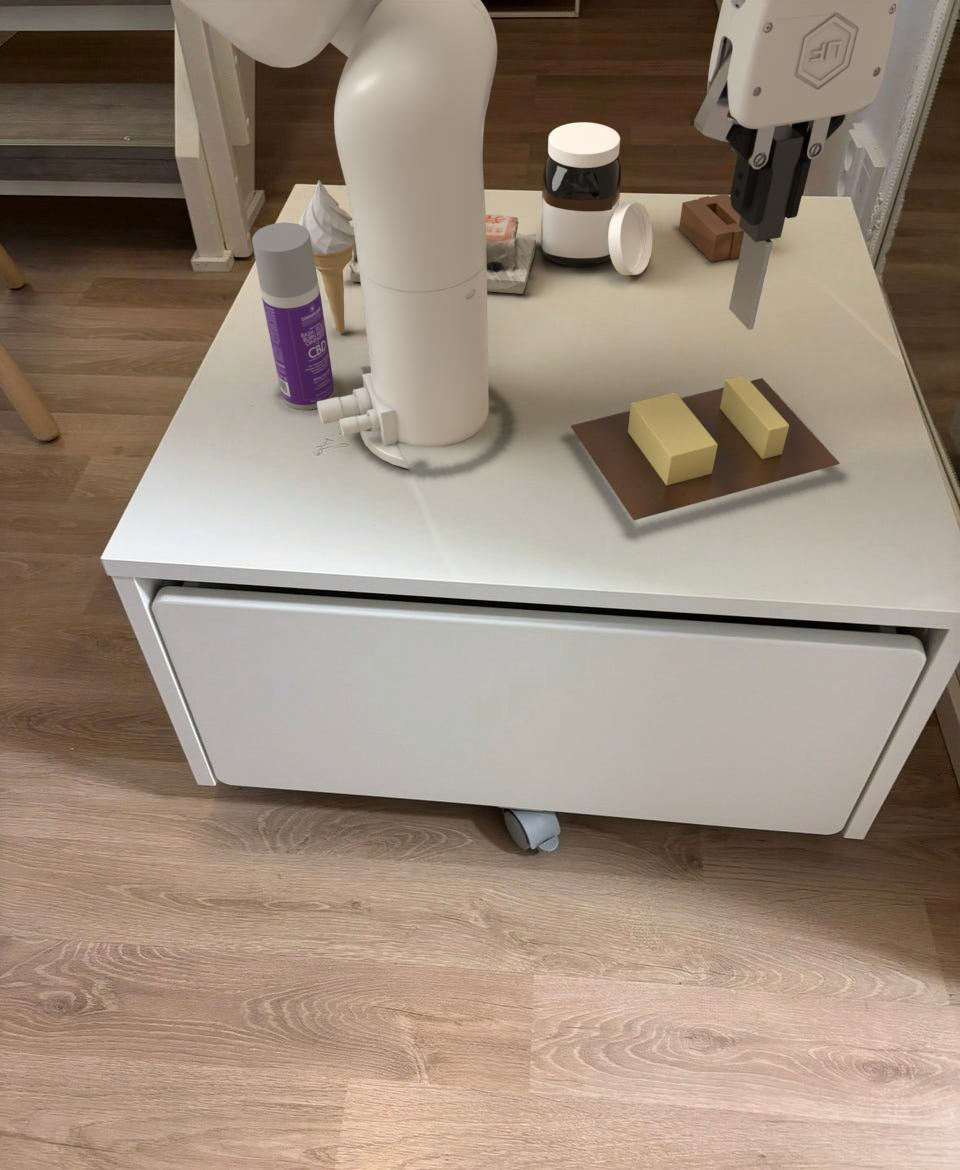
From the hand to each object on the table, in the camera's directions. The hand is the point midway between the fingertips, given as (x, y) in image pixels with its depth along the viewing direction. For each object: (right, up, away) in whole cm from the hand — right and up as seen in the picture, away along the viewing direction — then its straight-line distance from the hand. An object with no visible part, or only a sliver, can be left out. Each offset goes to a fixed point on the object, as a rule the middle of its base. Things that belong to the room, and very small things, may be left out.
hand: (763, 210), depth 70 cm
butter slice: (+3, -13, +13) cm, 19 cm away
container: (-35, -9, +20) cm, 41 cm away
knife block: (+5, +10, +37) cm, 38 cm away
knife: (0, -6, +6) cm, 9 cm away
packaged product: (-23, +7, +34) cm, 42 cm away
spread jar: (-8, +8, +35) cm, 37 cm away
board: (-1, -15, +14) cm, 21 cm away
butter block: (-4, -15, +12) cm, 20 cm away
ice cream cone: (-33, -2, +27) cm, 42 cm away
